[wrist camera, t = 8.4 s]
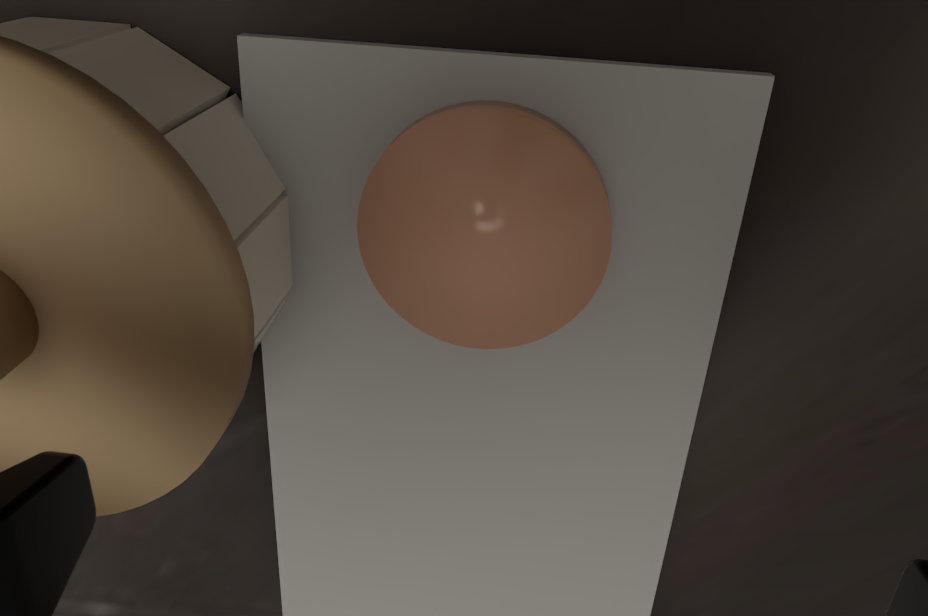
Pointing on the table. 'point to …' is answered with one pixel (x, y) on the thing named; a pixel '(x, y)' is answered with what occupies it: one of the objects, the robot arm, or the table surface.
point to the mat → (491, 370)
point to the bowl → (188, 137)
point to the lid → (110, 289)
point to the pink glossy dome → (485, 225)
